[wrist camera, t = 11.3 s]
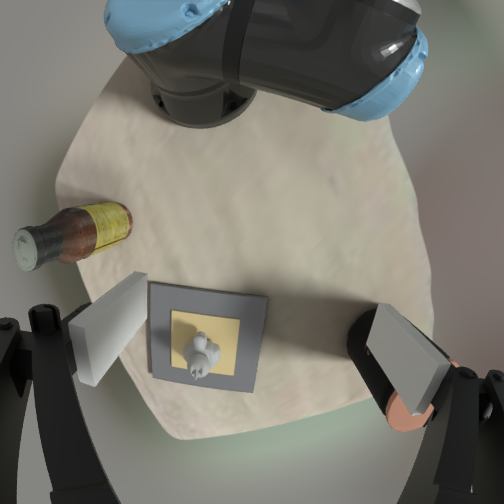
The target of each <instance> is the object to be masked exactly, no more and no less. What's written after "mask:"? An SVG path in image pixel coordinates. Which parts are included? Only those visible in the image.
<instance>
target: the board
mask: <svg viewBox="0 0 504 504" xmlns="http://www.w3.org/2000/svg"><path fill="white" fill-rule="evenodd" d="M267 301H268V297H265V296H256V295H247V294H238V293H230V292H222V291H214V290H207V289H199V288H192V287H185V286H178V285H171V284H164V283H157V282H152V283H151V284H150V332H151V357H152V374H153V378H156V379H161V380H166V381H171V382H176V383H182V384H188V385H194V386H200V387H207V388H214V389H221V390H229V391H238V392H248V393H253V390H254V384H255V378H256V372H257V366H258V360H259V353H260V347H261V341H262V334H263V328H264V321H265V315H266V308H267ZM199 331H202V332H204V333H205V334H206V336H207V340H209V341H212V342H213V343H215V344H218V345H219V347H220V353H221V358H220V360H219V362H218V363H217V364H216V365H215V366H214V367H213V368H212V369H211V370H209V372H208V374H207V375H206V376H204V377H201V378H197V379H196V380H195V377H193V376H192V375H191V374H190V373H189V371H188V369H187V362H186V361H185V359H184V357H183V348H184V346H185V345H186V344H187V343H190V342H191V341H192V339H193V337H194V336H195V335H196V333H197V332H199Z"/></svg>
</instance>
